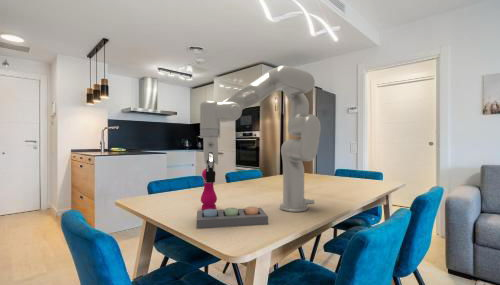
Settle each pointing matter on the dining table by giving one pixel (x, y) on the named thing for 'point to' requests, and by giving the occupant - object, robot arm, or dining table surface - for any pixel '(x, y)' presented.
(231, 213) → the sage button
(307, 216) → the dining table surface
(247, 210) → the terracotta button
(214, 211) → the blue button
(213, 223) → the button panel
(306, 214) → the dining table surface
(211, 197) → the pepper mill
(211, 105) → the robot arm
